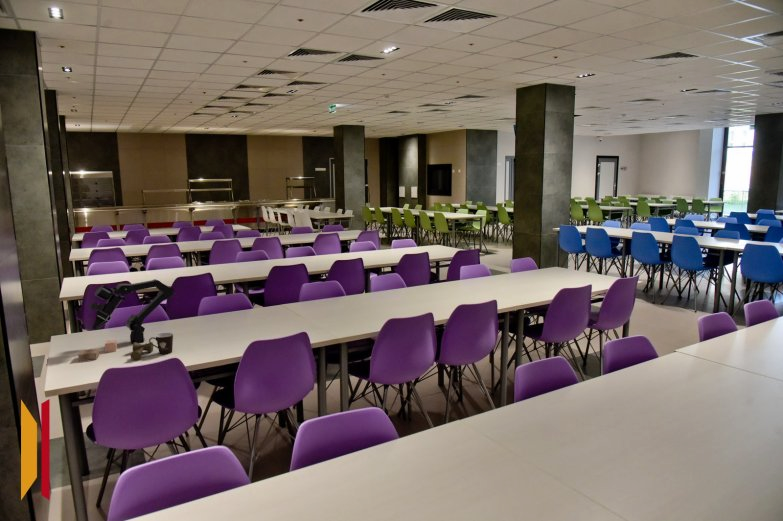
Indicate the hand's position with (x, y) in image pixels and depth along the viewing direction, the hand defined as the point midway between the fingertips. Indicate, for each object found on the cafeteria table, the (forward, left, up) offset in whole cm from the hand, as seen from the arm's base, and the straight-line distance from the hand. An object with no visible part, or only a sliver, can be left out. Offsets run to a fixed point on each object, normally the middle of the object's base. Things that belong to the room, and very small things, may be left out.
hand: (94, 329), depth 285 cm
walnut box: (+1, +13, -12) cm, 18 cm away
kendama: (-24, +16, -13) cm, 31 cm away
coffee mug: (-35, +17, -12) cm, 41 cm away
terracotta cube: (-8, +3, -12) cm, 15 cm away
